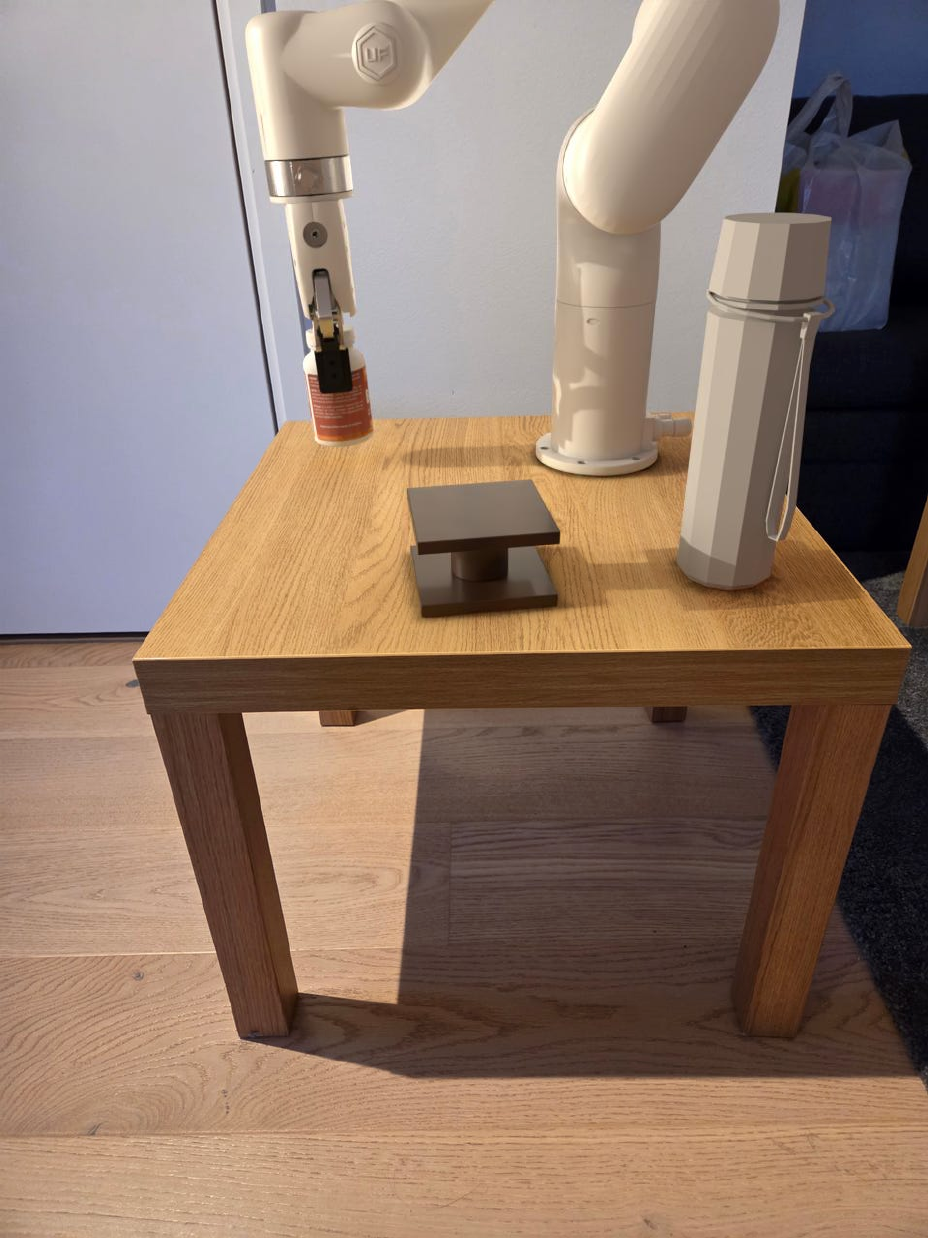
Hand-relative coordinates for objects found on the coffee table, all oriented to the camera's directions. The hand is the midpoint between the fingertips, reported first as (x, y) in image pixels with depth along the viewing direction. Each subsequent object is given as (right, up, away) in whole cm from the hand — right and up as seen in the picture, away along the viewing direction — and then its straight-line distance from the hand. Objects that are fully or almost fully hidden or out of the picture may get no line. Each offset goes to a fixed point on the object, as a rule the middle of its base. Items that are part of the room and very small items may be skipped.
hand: (336, 380), depth 85 cm
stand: (+14, -21, -19) cm, 32 cm away
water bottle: (+33, -21, -20) cm, 44 cm away
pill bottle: (0, -5, +3) cm, 6 cm away
